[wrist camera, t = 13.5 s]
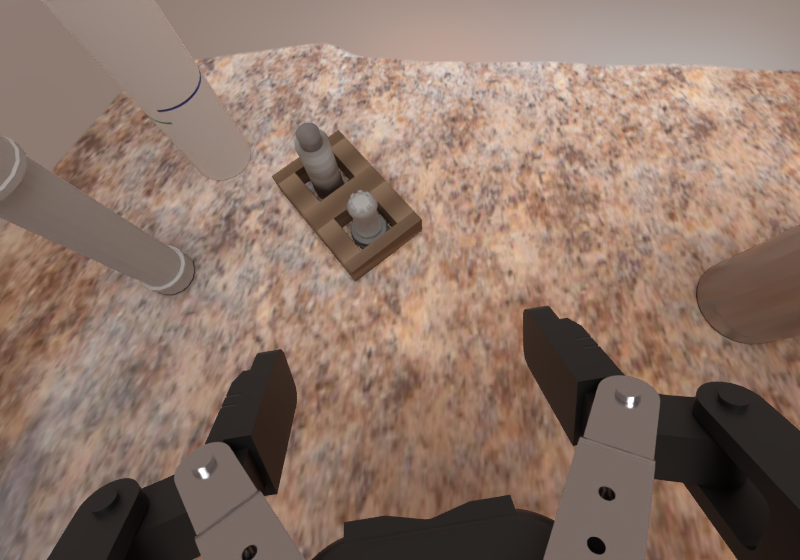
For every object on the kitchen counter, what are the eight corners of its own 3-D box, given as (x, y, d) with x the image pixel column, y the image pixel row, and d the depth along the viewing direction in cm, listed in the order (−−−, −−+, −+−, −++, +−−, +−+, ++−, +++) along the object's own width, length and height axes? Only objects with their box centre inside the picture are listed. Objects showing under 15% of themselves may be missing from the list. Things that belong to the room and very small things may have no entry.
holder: (280, 189, 51) (245, 135, 41) (343, 145, 52) (324, 82, 42) (355, 281, 46) (337, 246, 36) (421, 230, 48) (421, 183, 38)
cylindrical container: (253, 174, 52) (109, -26, 28) (198, 185, 52) (7, -6, 28) (248, 129, 54) (112, -91, 30) (196, 139, 54) (18, -74, 30)
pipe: (144, 291, 47) (-275, 115, 19) (164, 243, 49) (-190, 16, 21) (186, 300, 47) (-180, 133, 18) (205, 251, 49) (-101, 29, 20)
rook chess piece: (354, 215, 49) (341, 180, 41) (390, 217, 49) (384, 182, 41) (350, 249, 48) (336, 219, 40) (387, 251, 47) (380, 221, 40)
